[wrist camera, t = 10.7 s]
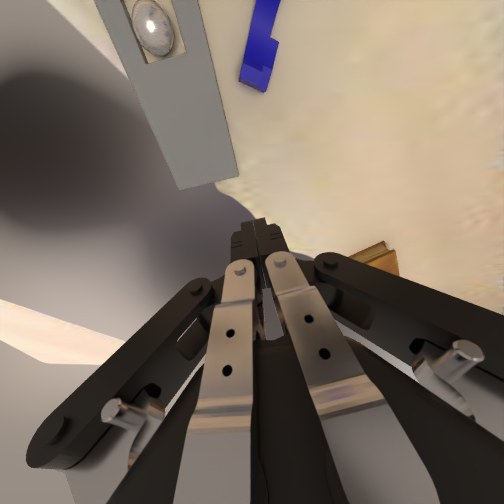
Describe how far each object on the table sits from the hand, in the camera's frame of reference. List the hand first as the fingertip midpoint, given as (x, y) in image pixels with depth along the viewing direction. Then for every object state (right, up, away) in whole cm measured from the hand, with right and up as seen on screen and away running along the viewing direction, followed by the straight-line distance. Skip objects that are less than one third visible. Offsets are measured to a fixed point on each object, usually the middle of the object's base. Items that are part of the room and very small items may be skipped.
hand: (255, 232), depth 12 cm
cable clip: (+2, +32, +17) cm, 36 cm away
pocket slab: (-12, +25, +20) cm, 34 cm away
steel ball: (-14, +29, +14) cm, 35 cm away
